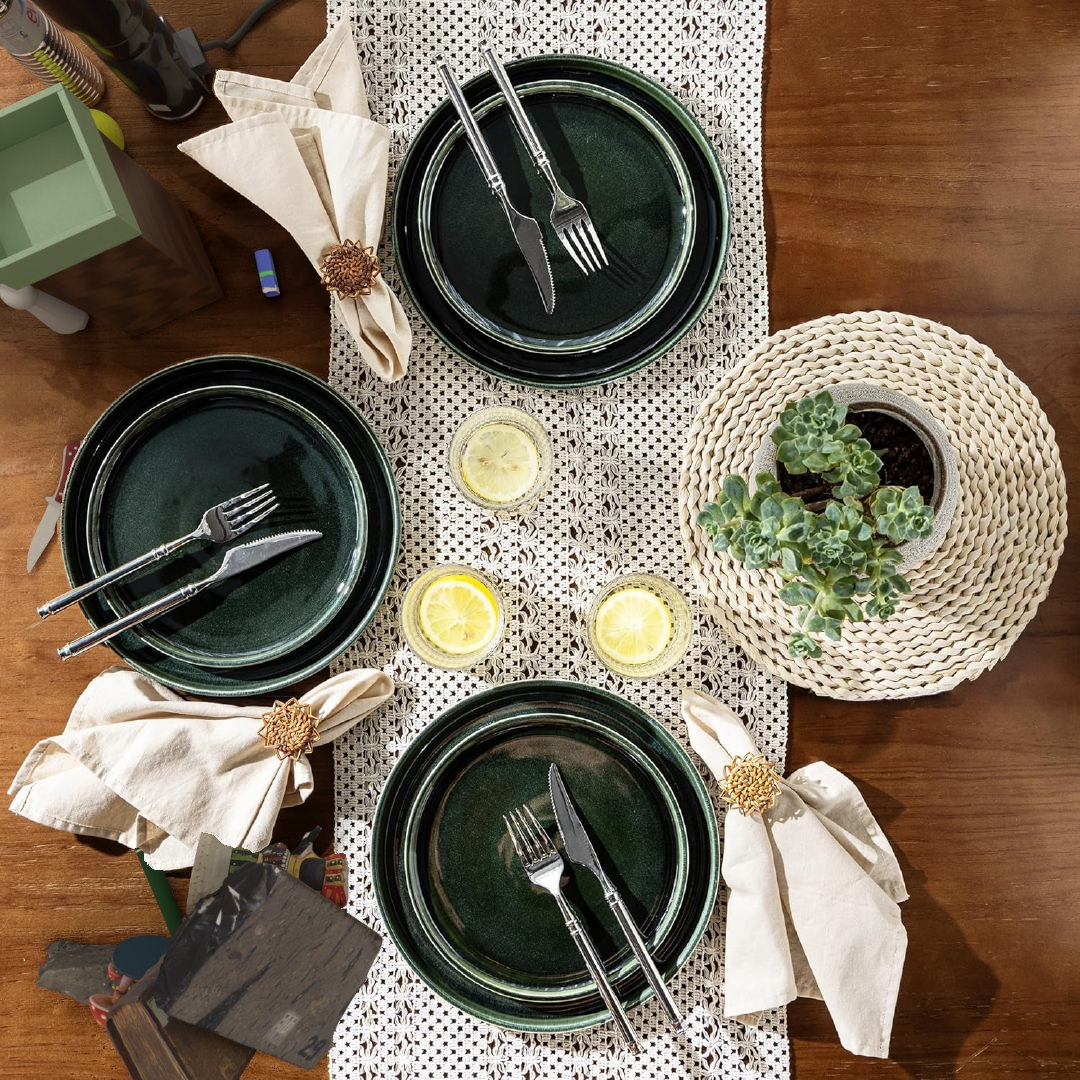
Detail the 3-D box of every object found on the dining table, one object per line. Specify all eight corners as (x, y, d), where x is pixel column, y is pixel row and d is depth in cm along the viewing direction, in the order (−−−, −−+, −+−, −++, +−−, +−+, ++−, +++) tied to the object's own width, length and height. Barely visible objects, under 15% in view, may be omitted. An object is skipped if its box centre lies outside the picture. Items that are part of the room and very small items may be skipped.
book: (199, 911, 113) (95, 1014, 88) (244, 890, 113) (153, 987, 88) (249, 1019, 113) (159, 1153, 88) (294, 998, 113) (216, 1127, 88)
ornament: (128, 179, 115) (86, 145, 105) (81, 169, 115) (34, 134, 105) (139, 131, 115) (98, 91, 105) (91, 121, 115) (46, 80, 105)
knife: (67, 435, 113) (87, 443, 114) (72, 436, 115) (92, 444, 115) (13, 569, 114) (34, 577, 114) (19, 568, 115) (39, 576, 115)
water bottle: (106, 111, 115) (-22, -10, 90) (60, 111, 115) (-82, -9, 90) (107, 63, 115) (-21, -71, 90) (60, 64, 115) (-80, -70, 90)
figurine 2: (177, 960, 100) (340, 962, 106) (196, 840, 100) (359, 848, 105) (191, 911, 112) (337, 914, 117) (208, 803, 112) (354, 812, 117)
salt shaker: (101, 308, 115) (42, 277, 102) (85, 344, 115) (23, 319, 102) (65, 291, 115) (1, 259, 102) (48, 327, 115) (-18, 300, 102)
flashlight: (165, 829, 116) (221, 960, 114) (130, 846, 115) (186, 978, 113) (152, 836, 111) (210, 974, 109) (116, 854, 110) (174, 993, 108)
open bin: (89, 108, 90) (60, 81, 85) (142, 234, 90) (116, 215, 85) (-36, 164, 91) (-72, 142, 86) (17, 290, 91) (-16, 275, 85)
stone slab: (285, 874, 91) (414, 957, 111) (255, 828, 97) (381, 915, 117) (152, 1013, 86) (312, 1075, 105) (129, 955, 92) (284, 1024, 112)
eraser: (262, 293, 112) (277, 289, 112) (253, 251, 112) (267, 248, 112) (266, 297, 114) (281, 294, 114) (257, 256, 114) (271, 253, 114)
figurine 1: (104, 933, 107) (88, 992, 108) (96, 978, 99) (78, 1043, 99) (199, 936, 112) (183, 993, 113) (199, 979, 104) (182, 1041, 104)
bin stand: (186, 207, 114) (85, 117, 90) (224, 296, 114) (133, 230, 90) (98, 247, 115) (-27, 168, 91) (135, 336, 115) (20, 281, 91)
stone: (35, 1012, 112) (-2, 1008, 104) (58, 942, 117) (25, 933, 108) (167, 1018, 112) (141, 1015, 104) (185, 948, 117) (162, 940, 109)
